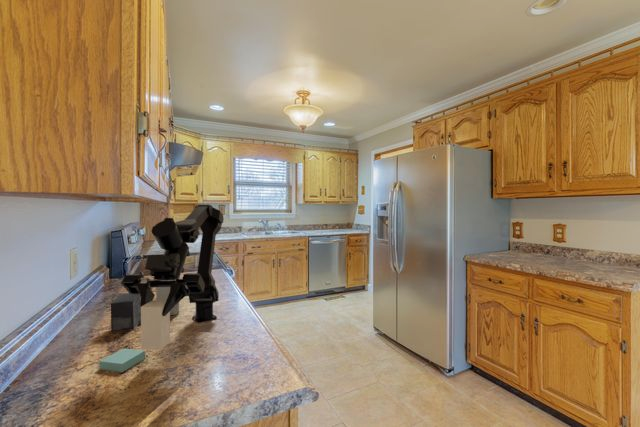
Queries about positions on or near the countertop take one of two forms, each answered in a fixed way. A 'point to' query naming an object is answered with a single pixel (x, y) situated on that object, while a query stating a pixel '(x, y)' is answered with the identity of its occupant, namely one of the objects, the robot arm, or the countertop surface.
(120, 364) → the teal square slab
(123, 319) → the small box
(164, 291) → the supplement box
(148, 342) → the cream column
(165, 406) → the countertop surface
